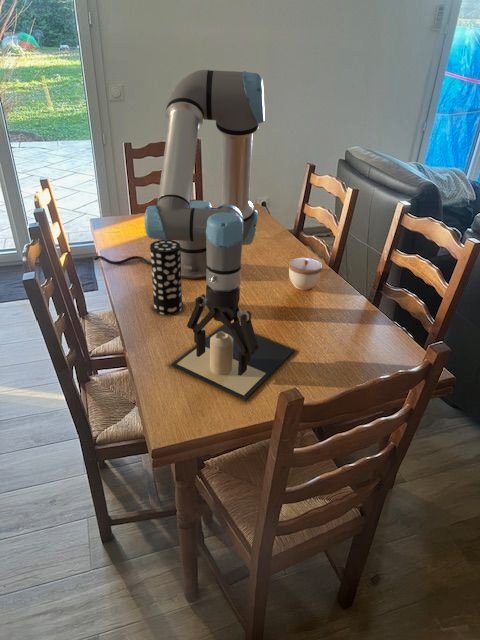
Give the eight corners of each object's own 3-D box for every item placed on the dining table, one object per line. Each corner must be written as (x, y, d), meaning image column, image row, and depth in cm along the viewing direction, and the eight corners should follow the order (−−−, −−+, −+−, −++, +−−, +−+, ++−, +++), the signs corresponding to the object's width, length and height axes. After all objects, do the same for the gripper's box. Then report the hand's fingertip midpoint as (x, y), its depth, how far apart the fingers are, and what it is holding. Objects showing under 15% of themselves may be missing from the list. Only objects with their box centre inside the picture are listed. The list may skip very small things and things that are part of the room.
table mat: (170, 365, 116) (170, 364, 116) (225, 324, 134) (225, 322, 133) (245, 401, 106) (245, 399, 106) (294, 351, 124) (294, 349, 123)
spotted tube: (186, 304, 142) (185, 242, 131) (174, 317, 135) (172, 253, 125) (162, 298, 144) (158, 237, 134) (148, 311, 138) (144, 248, 127)
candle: (209, 361, 117) (209, 328, 112) (231, 361, 118) (232, 328, 113) (210, 375, 113) (210, 341, 107) (232, 375, 113) (234, 341, 108)
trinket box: (318, 295, 150) (322, 269, 145) (285, 290, 152) (287, 264, 147) (320, 280, 159) (323, 255, 154) (288, 276, 161) (291, 251, 156)
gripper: (170, 275, 106) (173, 352, 117) (260, 308, 95) (254, 390, 106) (190, 264, 111) (192, 339, 123) (278, 294, 100) (271, 373, 112)
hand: (221, 363), depth 115 cm, fingers open, 12 cm apart
